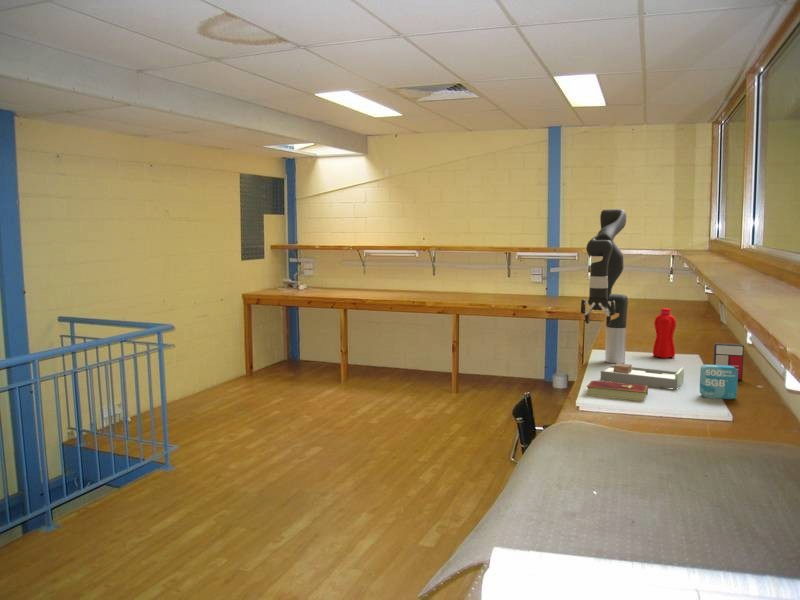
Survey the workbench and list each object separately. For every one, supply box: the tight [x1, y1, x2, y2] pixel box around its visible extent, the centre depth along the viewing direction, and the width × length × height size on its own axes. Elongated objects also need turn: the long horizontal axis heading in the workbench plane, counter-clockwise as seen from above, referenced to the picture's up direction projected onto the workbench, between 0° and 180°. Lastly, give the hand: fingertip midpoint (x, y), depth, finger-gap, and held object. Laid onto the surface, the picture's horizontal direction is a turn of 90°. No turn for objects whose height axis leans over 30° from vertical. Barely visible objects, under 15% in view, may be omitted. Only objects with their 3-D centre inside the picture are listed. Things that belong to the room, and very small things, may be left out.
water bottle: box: [652, 307, 677, 359], centre depth 318 cm, size 9×11×25 cm
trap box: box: [599, 364, 685, 390], centre depth 263 cm, size 17×30×6 cm, turn 57°
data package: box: [699, 364, 739, 400], centre depth 235 cm, size 12×4×12 cm, turn 76°
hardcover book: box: [586, 380, 649, 402], centre depth 239 cm, size 12×21×4 cm, turn 64°
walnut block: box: [613, 363, 633, 374], centre depth 267 cm, size 6×6×3 cm
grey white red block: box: [712, 342, 745, 381], centre depth 267 cm, size 11×4×15 cm, turn 70°
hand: (597, 324), depth 268 cm, fingers open, 8 cm apart
